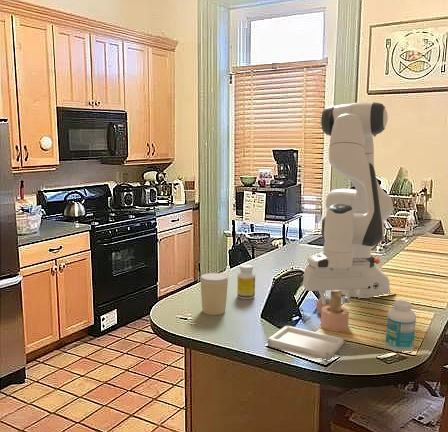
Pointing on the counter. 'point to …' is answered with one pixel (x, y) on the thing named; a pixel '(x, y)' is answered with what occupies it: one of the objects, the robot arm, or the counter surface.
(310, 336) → the tray
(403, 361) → the counter surface
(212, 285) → the coffee cup
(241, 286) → the pill bottle
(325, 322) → the cup
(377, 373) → the counter surface
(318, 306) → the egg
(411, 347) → the pill bottle
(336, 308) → the dowel
